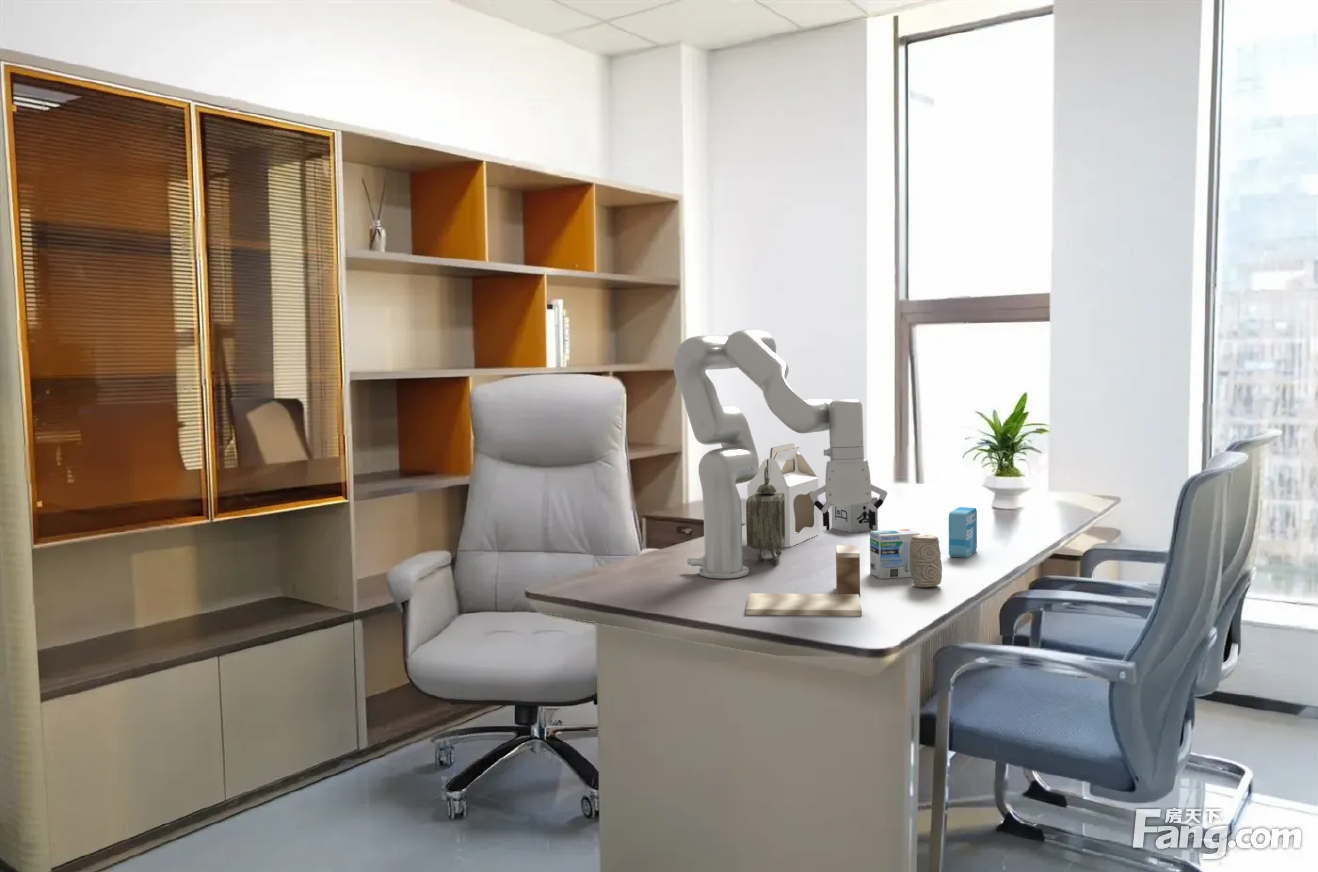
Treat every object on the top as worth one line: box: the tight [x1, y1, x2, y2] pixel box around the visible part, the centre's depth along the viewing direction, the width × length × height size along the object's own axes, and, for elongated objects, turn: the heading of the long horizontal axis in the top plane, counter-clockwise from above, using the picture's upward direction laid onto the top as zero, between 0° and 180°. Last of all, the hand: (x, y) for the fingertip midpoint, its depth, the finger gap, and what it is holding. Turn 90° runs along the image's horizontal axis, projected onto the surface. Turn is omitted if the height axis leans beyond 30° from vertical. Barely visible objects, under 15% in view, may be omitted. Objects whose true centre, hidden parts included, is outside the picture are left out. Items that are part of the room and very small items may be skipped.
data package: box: [948, 506, 978, 559], centre depth 265 cm, size 12×4×12 cm, turn 149°
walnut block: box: [835, 544, 861, 597], centre depth 226 cm, size 5×9×10 cm, turn 171°
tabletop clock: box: [745, 467, 785, 565], centre depth 263 cm, size 14×9×25 cm, turn 168°
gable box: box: [746, 443, 820, 548], centre depth 292 cm, size 22×13×28 cm, turn 149°
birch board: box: [745, 592, 863, 617], centre depth 214 cm, size 24×14×1 cm, turn 81°
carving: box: [909, 533, 943, 588], centre depth 229 cm, size 6×8×12 cm
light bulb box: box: [869, 528, 921, 580], centre depth 242 cm, size 11×7×11 cm, turn 101°
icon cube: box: [831, 495, 879, 533], centre depth 307 cm, size 10×10×10 cm
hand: (849, 529), depth 225 cm, fingers open, 9 cm apart
